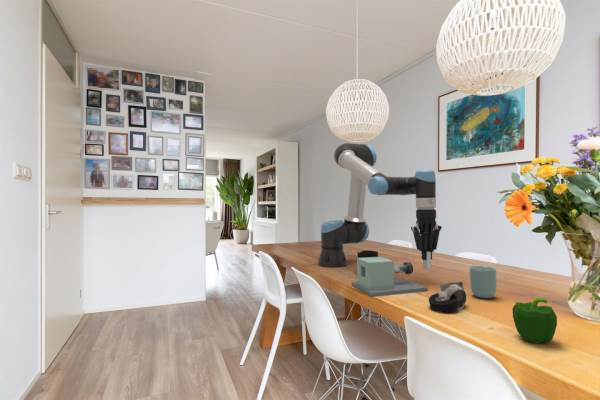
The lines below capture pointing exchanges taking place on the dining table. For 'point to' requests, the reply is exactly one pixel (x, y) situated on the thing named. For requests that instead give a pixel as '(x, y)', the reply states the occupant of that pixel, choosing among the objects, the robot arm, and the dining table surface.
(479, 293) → the cup
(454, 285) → the caster wheel
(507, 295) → the dining table surface
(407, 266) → the shaft
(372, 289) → the block
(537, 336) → the bell pepper
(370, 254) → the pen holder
